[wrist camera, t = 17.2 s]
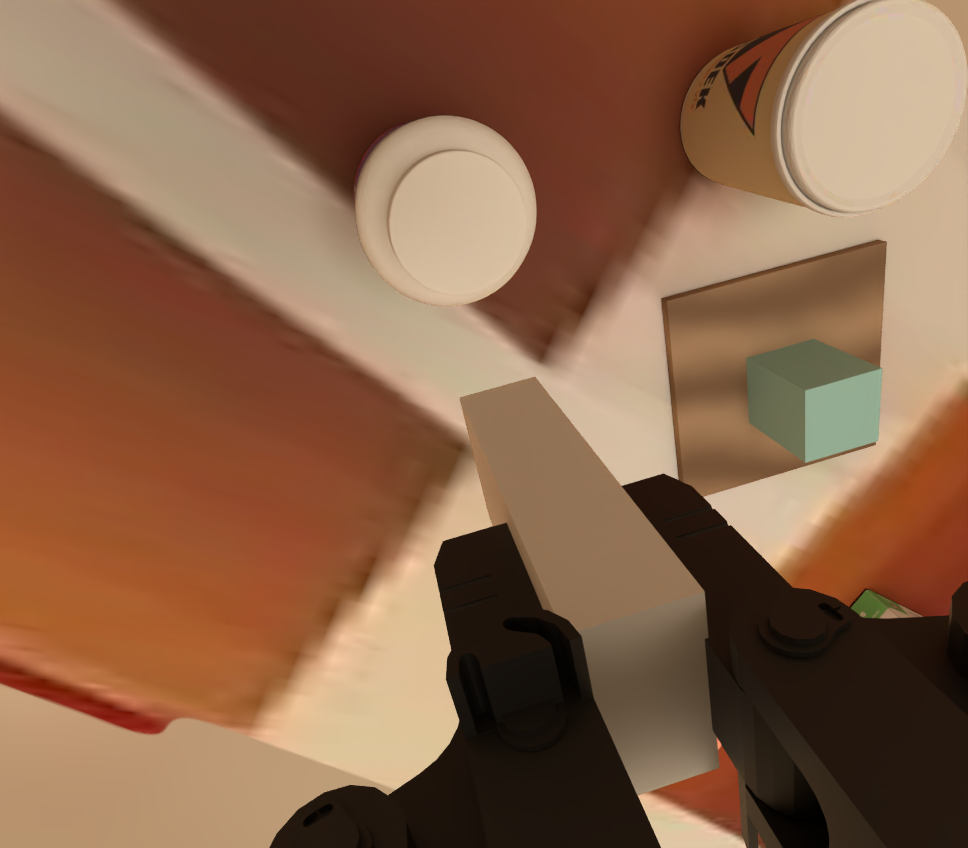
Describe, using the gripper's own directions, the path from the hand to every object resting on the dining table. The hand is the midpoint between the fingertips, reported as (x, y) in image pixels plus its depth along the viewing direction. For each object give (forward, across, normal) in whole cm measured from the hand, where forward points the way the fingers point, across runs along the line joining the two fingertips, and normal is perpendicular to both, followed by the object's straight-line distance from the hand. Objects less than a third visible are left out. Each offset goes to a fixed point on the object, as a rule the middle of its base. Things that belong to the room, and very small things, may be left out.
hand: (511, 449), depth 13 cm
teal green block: (+29, +24, -16) cm, 41 cm away
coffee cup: (+30, +22, +2) cm, 37 cm away
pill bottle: (+30, +2, +2) cm, 30 cm away
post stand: (+29, +24, -16) cm, 41 cm away
